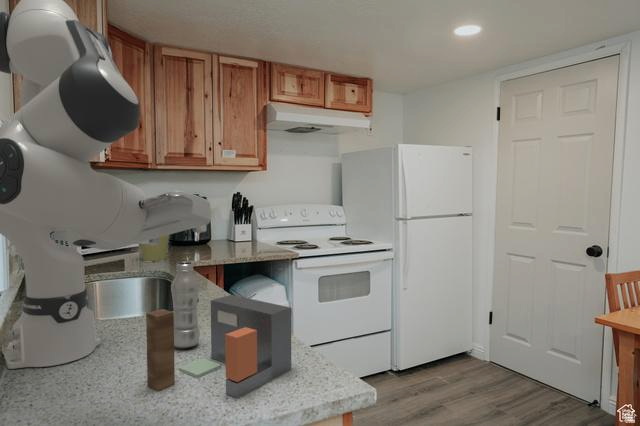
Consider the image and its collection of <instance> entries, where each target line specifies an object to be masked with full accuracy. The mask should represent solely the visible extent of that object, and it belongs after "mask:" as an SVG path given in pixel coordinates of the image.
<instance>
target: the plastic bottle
mask: <svg viewBox="0 0 640 426" xmlns="http://www.w3.org/2000/svg"><path fill="white" fill-rule="evenodd" d="M193 265H194V264H193V262H191V261H190V262H189V261H183V262H177V263H176V270H175V271H176V275H175V277H174V278H173V279H172V282H171V285H170V291H171V297H172V304H173V305H172V306H173V312H174V348H176V349H188V348H190V349H191V348H193V347H195V346H197V344H198V343H199V341H200V335H201V333H200V327H199V321H198V300H199V299H198V297H199V291H200V283H199V280H198V279H197V277H196V276H195V275H194V274H193V271H194V266H193Z"/></svg>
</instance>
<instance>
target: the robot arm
mask: <svg viewBox="0 0 640 426" xmlns="http://www.w3.org/2000/svg"><path fill="white" fill-rule="evenodd" d="M0 72H2V73H5V74H9V75H11V74H16V75H20V76H23V78H22V79H23V80H22V85H21V92H20V104H19V106H20V108H19V110H17V111H16V112H14V113H13V114H12V115H11V116H10V117H8V118H7V119H6V120H5V121H4V122H3V123H2V124H1V126H0V235H1V236H3V237H5V238H6V239H7V240H8V241H9V242H10V243H11V244H12V245H13V246H14V247H15V249H16V250H17V251H18V253H19V256H20V258H21V260H22V264H23V268H24V269H23V270H24V276H25V287H26V288H25V289H26V294H25V296H24V297H23V302H22V312H23V313H22V314H21V315H20V316H19V318H18V319H17V320H16V321H15V323H13V325H12V329H9V330H7V331H5V338H6V340H5V341H6V342H8V343H9V345H8V348H7V351H6V353H5V360H6V362H5V365H6V367H7V369H10V370H11V369H12V370H14V369H22V368H43V367H53V366H58V365H63V364H67V363H71V362H73V361H77V360H80V359H82V358H85V357H87V356H88V355H91V354H92V353H93V352H94V351H95V349H96V347H98V346H100V345H101V344H102V338H101V337H97V335H96V324H95V318H94V317H95V315H94V311H93V310H91V309H90V308H88V307H87V305H89V304H88V303H89V301H88V299H89V296H88V290H87V288H85V287H86V283H85V280H86V279H85V259H84V257H83V255H82V254H81V253H80V252H79V251H77V250H75V249H74V248H72V247H76V248H81V247H86V248H92V249H97V250H104V251H107V250H109V251H111V250H118V249H121V248H126V247H129V246H133V245H140V244H148V245H156V244H159V243H160V237H162V236H166V235H169V236H170V235H173V234H176V233H181V232H183V231H188V230H192V232H194V233H196V234H201V233H205V232H207V226H208V225H209V224H210V222H211V219H212V216H211V215H212V212H211V211H212V210H211V203H210V201H209V200H207V199H205V198H203V197H201V196H198V195H196V194H193V193H190V192H187V191H185V190H184V191H183V190H178V189H177V190H169V191H165V192H162V193H158V194H155V195H151V196H148V197H147V196H146V194H145V192H144V191H143V189H141V188H140V187H139V186H137V185H134V184H132V183H130V182H127V181H126V180H123V179H120V178H119V177H116V176H114V175H112V174H109V173H106V172H98V171H96V170H95V169H93V168H92V166H91V162H90V161H91V160H93V159H94V158H95V157H97V156H98V155H99V154H101V153H102V152H103V151H105V150H106V149H107V148H108V147H109V146H111V145H112V144H114V143H115V142H118V141H119V140H121V139H123V138H124V137H126V136H127V135H129V134H130V133H132V132H134V131H136V130H137V128H138V127H139V124H140V118H141V103H140V100H139V98H138V96H137V95H136V92H134V90H133V89H132V87H131V85H129V83H128V82H127V81H126V80H125V78H124V77H123V75H122V74H121V72H120V70H119V69H118V67H117V64H116V63H115V60H113V53H112V49H111V47H110V45H109V41H108V39H107V37H106V36H105V35H104V34H103V33H100V32H98V31H95V30H94V29H90V28H89V27H88V26H86V25H85V24H83V23H82V22H81V21H80V20H79V18H78V17H77V15H76V14H75V11H74V10H73V9H72V7H70V5H69V4H67V2H65V1H64V0H20V1H18V3H17V4H16V6H14V9H13V10H12V13H11V14H10V13H7V12H5V11H1V12H0ZM57 231H58V232H59V231H67V232H66V233H67V235H66V236H67V237H66V239H67V245H68V246H66V245H63V244H61V243H57V242H55V241H54V240H53V239H52V238H51V237H52V236H51V233H54V232H57ZM69 246H71V247H69ZM5 360H4V361H5Z"/></svg>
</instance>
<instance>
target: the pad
mask: <svg viewBox="0 0 640 426" xmlns="http://www.w3.org/2000/svg"><path fill="white" fill-rule="evenodd" d="M218 369H222V364H221V363H220V364H219V363H217V362H215V361H212V360H210V359H206V358H204V357H203V358H199V359H197V360H194V361H191V362H190V363H187V364H184V365H181V366H179V367H178V371H180V372H182V373H185V374H187V375H190V376H191V377H194V378H196V379H197V378H200V377H203V376H205V375H207V374H210V373H212V372H214V371H217V370H218Z"/></svg>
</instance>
